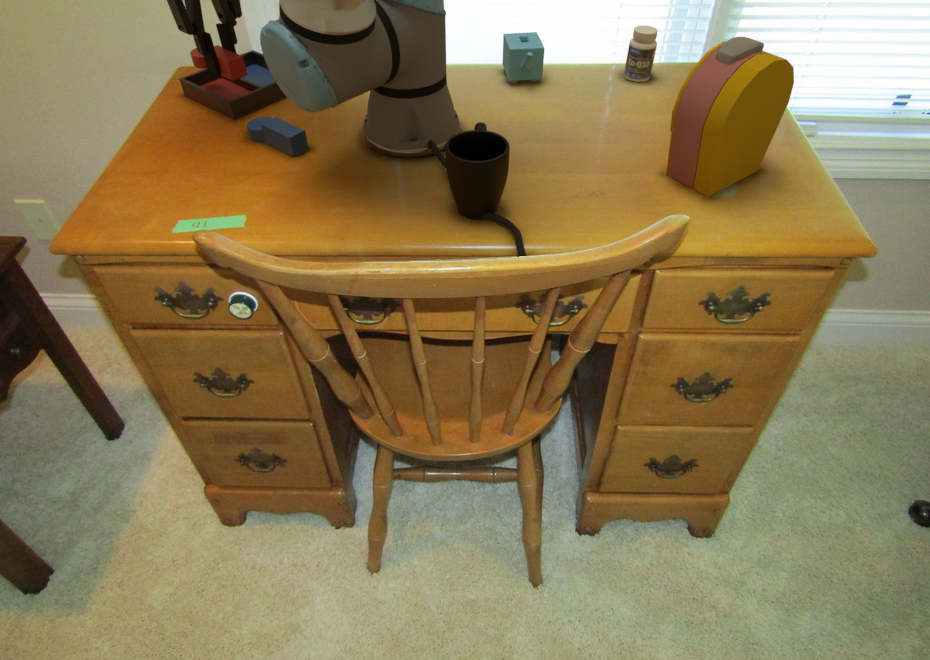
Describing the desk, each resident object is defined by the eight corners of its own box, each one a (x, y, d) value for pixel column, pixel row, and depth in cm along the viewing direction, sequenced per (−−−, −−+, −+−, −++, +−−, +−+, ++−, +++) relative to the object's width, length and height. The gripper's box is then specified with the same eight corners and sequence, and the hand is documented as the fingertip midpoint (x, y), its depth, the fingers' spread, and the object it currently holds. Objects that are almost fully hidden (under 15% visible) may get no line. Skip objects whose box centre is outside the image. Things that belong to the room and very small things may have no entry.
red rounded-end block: (251, 73, 106) (247, 54, 104) (228, 83, 104) (223, 63, 101) (211, 55, 111) (205, 36, 109) (188, 63, 109) (182, 44, 106)
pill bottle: (622, 80, 114) (630, 32, 108) (625, 70, 118) (633, 22, 112) (648, 83, 113) (658, 35, 107) (651, 73, 117) (660, 25, 111)
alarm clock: (719, 144, 98) (756, 20, 85) (764, 166, 94) (811, 39, 81) (654, 176, 92) (683, 47, 79) (699, 201, 87) (739, 69, 74)
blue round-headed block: (312, 147, 99) (309, 128, 97) (289, 159, 97) (285, 140, 94) (266, 125, 104) (261, 106, 102) (243, 135, 102) (238, 117, 99)
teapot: (545, 92, 112) (548, 49, 106) (511, 94, 111) (513, 51, 106) (532, 64, 120) (535, 22, 114) (501, 65, 119) (502, 24, 114)
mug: (511, 178, 92) (513, 117, 85) (504, 227, 84) (507, 163, 77) (455, 175, 93) (453, 114, 86) (443, 223, 84) (440, 160, 78)
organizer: (307, 86, 114) (304, 70, 112) (234, 119, 106) (229, 102, 103) (256, 65, 121) (252, 49, 119) (184, 95, 112) (178, 78, 110)
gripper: (210, -110, 96) (249, 48, 112) (111, -88, 87) (169, 79, 104) (240, -102, 92) (276, 59, 109) (141, -80, 84) (196, 92, 101)
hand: (224, 68), depth 106 cm, fingers closed on red rounded-end block, 3 cm apart
